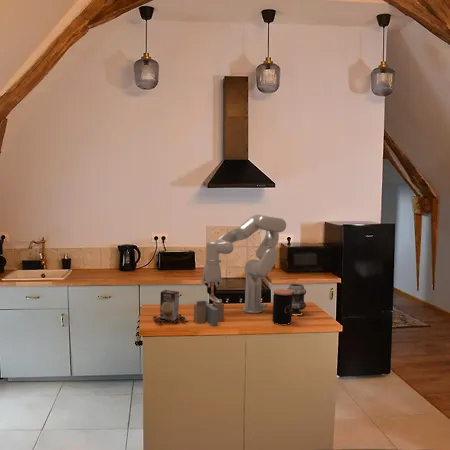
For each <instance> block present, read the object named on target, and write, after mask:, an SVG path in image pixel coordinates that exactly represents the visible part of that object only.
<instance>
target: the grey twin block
mask: <svg viewBox="0 0 450 450" xmlns="http://www.w3.org/2000/svg"><path fill="white" fill-rule="evenodd" d="M224 310H225V303H223V302H221V304H216V303H215V302H212V304H211V303H209V302H208V301H207V300H196V303H194V305H193V322H194V323H196V324H203V323H205V324H206V322H207V323H208V324H209V325H210V326H212V327H217V326H219V324H218V322H224V319H225V316H224V314H225V313H224V312H225V311H224Z"/></svg>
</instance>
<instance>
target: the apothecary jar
mask: <svg viewBox="0 0 450 450" xmlns="http://www.w3.org/2000/svg"><path fill="white" fill-rule="evenodd" d="M286 290H289V291H292V314H301V313H303V312H302V310H305V308H306V307H307V304H306V302H305V295H306V294H307V290H306V288H305V286H304V285H303V284H301V283H290V284H289V286H288V288H287V289H286Z"/></svg>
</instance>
